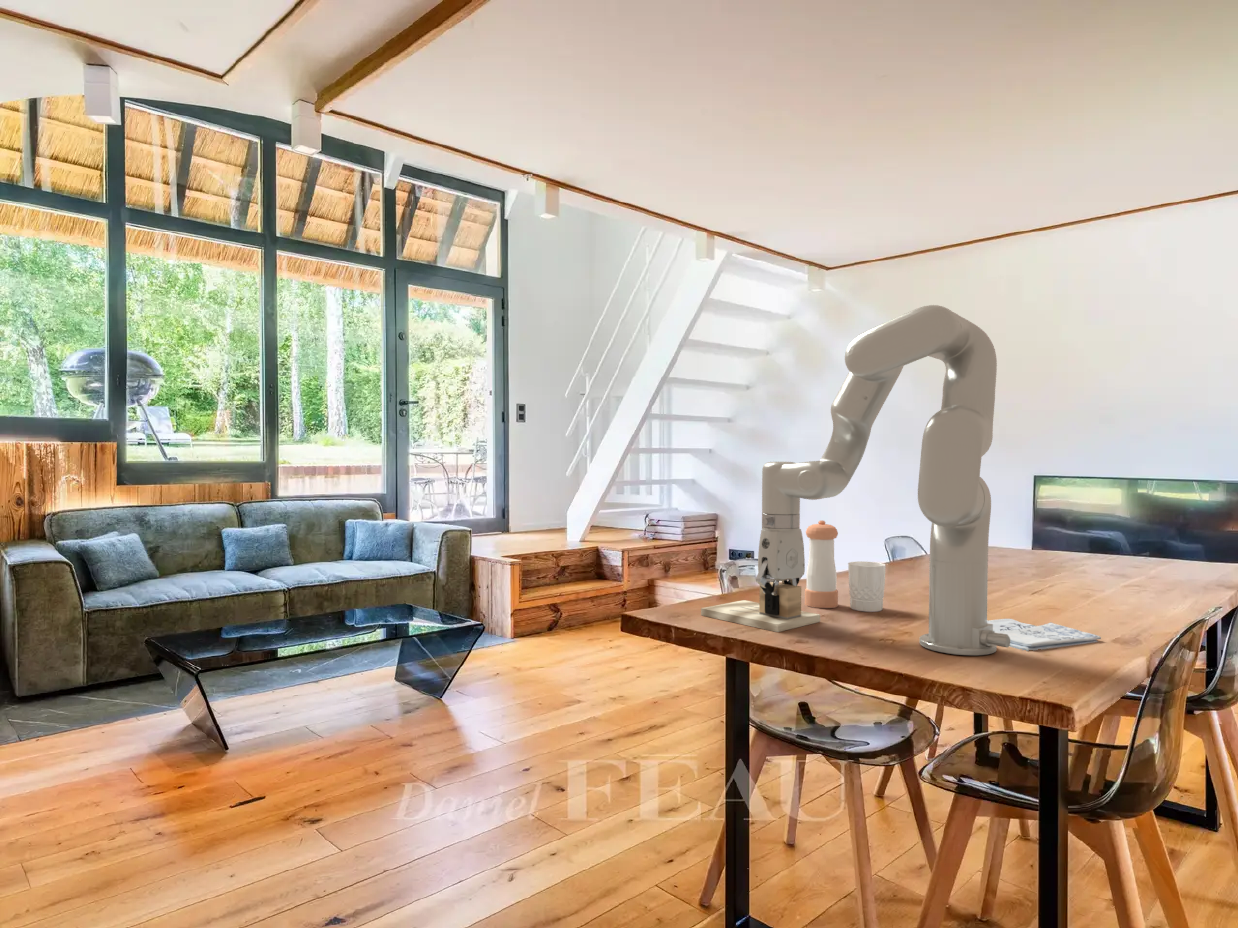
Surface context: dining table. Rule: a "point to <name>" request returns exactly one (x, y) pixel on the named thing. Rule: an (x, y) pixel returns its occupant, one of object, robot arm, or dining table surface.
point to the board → (756, 616)
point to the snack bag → (1040, 635)
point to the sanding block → (784, 601)
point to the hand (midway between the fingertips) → (779, 611)
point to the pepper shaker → (821, 567)
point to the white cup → (866, 585)
